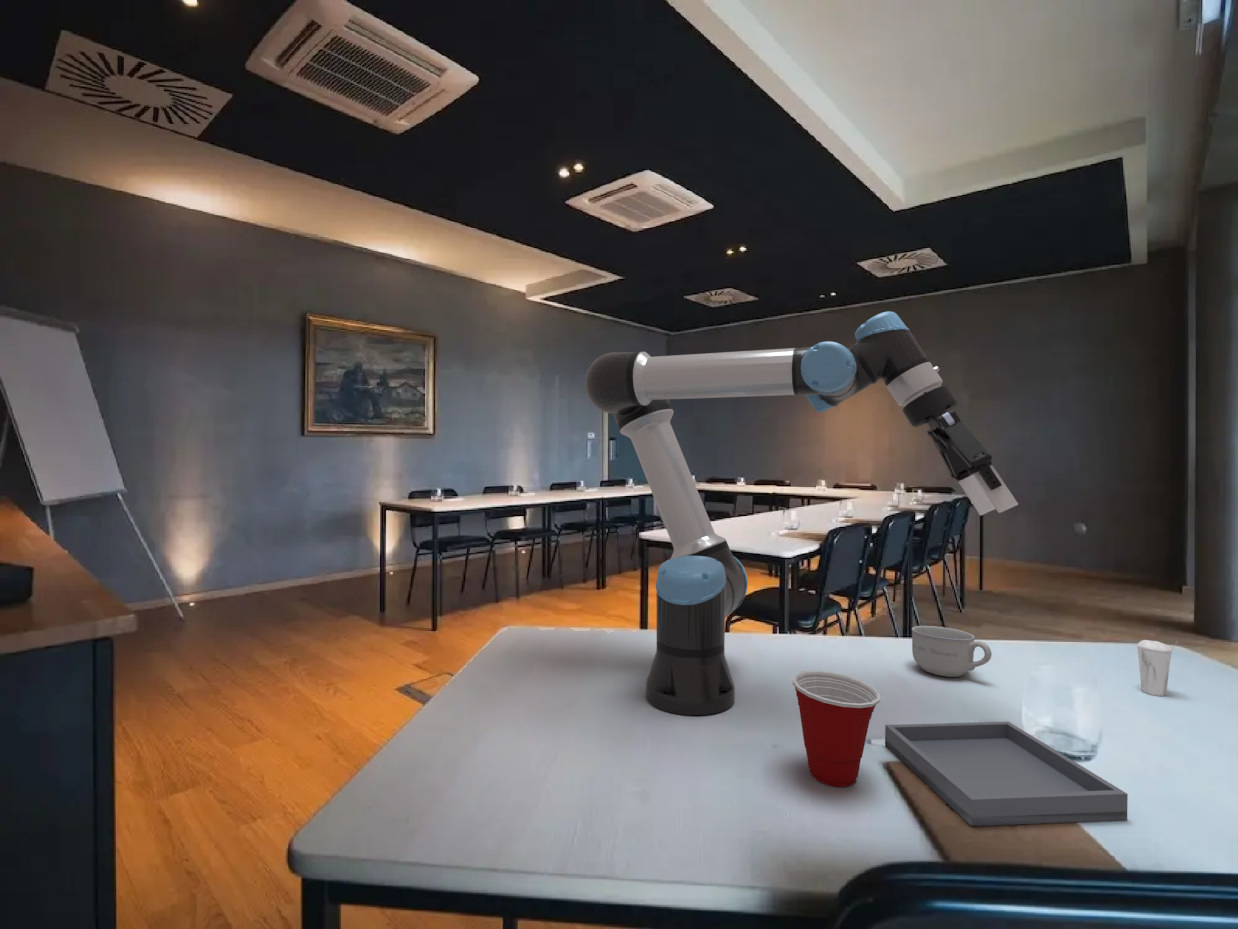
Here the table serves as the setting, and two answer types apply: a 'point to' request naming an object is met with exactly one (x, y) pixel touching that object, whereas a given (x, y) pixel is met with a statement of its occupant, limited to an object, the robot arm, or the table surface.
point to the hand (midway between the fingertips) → (998, 510)
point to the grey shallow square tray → (1003, 775)
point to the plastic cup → (834, 723)
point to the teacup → (946, 650)
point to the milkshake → (1154, 666)
